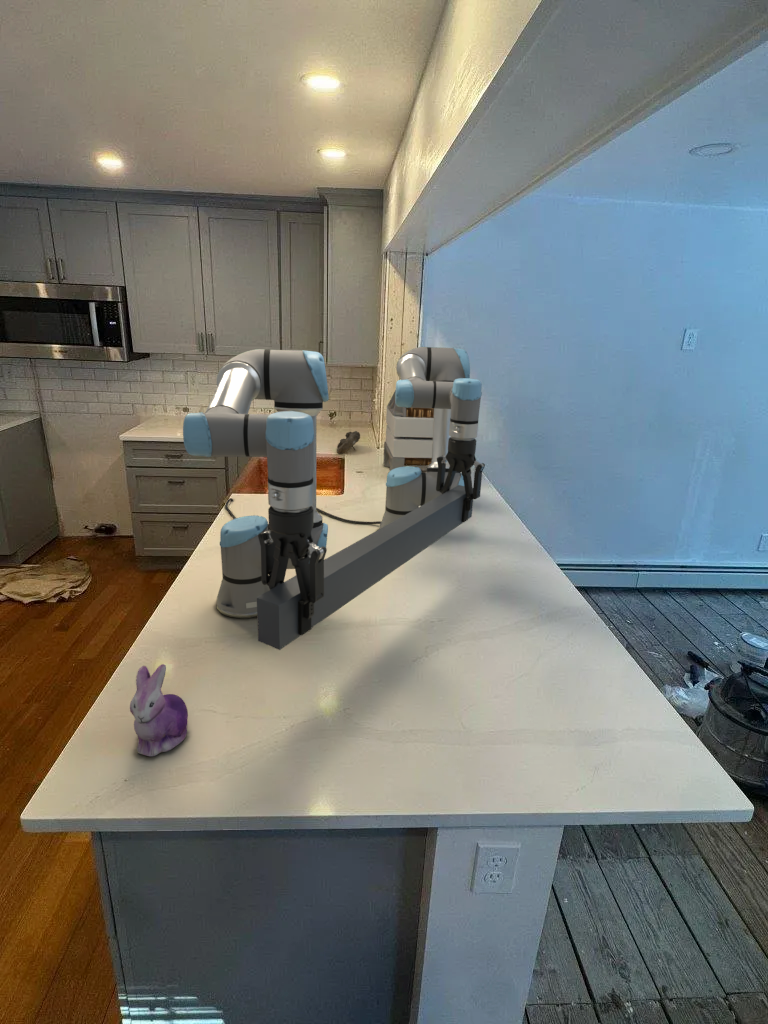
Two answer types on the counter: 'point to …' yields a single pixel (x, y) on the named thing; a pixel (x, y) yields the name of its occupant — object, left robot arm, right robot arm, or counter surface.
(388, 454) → the grey bottle crate
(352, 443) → the fossil
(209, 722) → the counter surface
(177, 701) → the figurine
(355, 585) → the beam
